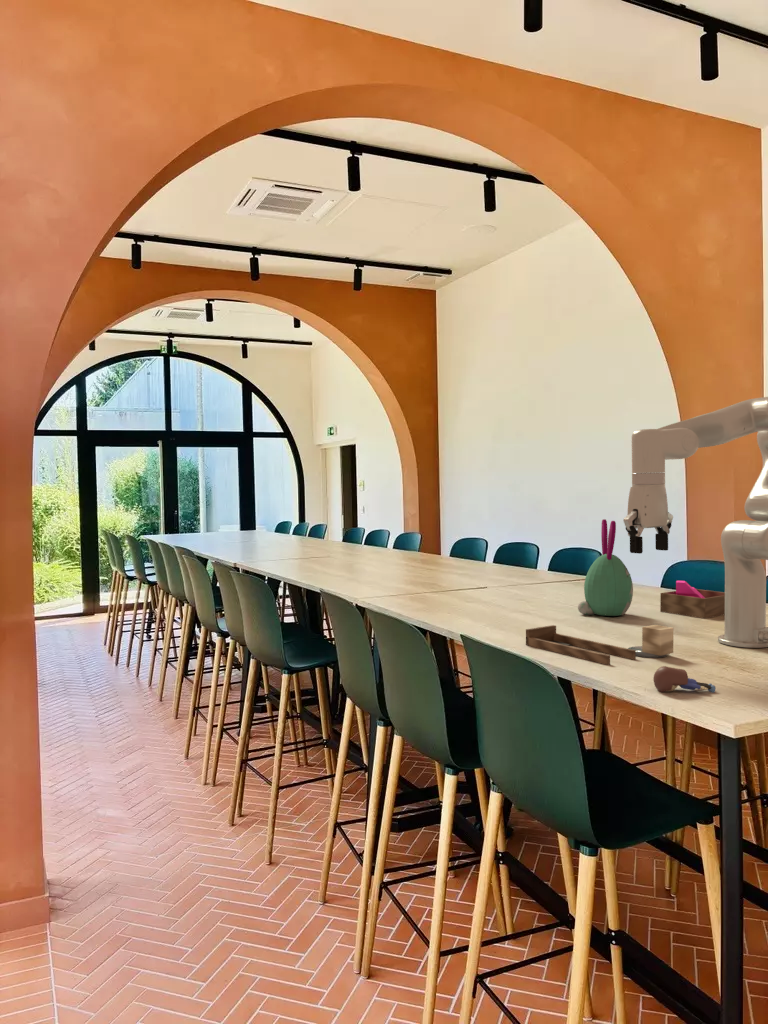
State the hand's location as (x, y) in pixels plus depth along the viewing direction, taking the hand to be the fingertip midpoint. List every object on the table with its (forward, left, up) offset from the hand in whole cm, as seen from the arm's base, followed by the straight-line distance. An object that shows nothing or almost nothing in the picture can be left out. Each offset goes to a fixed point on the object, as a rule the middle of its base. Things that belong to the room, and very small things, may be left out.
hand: (649, 551), depth 179 cm
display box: (+28, -63, -25) cm, 73 cm away
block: (-3, 0, -24) cm, 24 cm away
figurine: (-25, +22, -25) cm, 42 cm away
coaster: (0, 0, -25) cm, 25 cm away
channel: (+11, +12, -25) cm, 30 cm away
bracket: (+29, -63, -26) cm, 74 cm away
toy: (+42, -35, -25) cm, 60 cm away
